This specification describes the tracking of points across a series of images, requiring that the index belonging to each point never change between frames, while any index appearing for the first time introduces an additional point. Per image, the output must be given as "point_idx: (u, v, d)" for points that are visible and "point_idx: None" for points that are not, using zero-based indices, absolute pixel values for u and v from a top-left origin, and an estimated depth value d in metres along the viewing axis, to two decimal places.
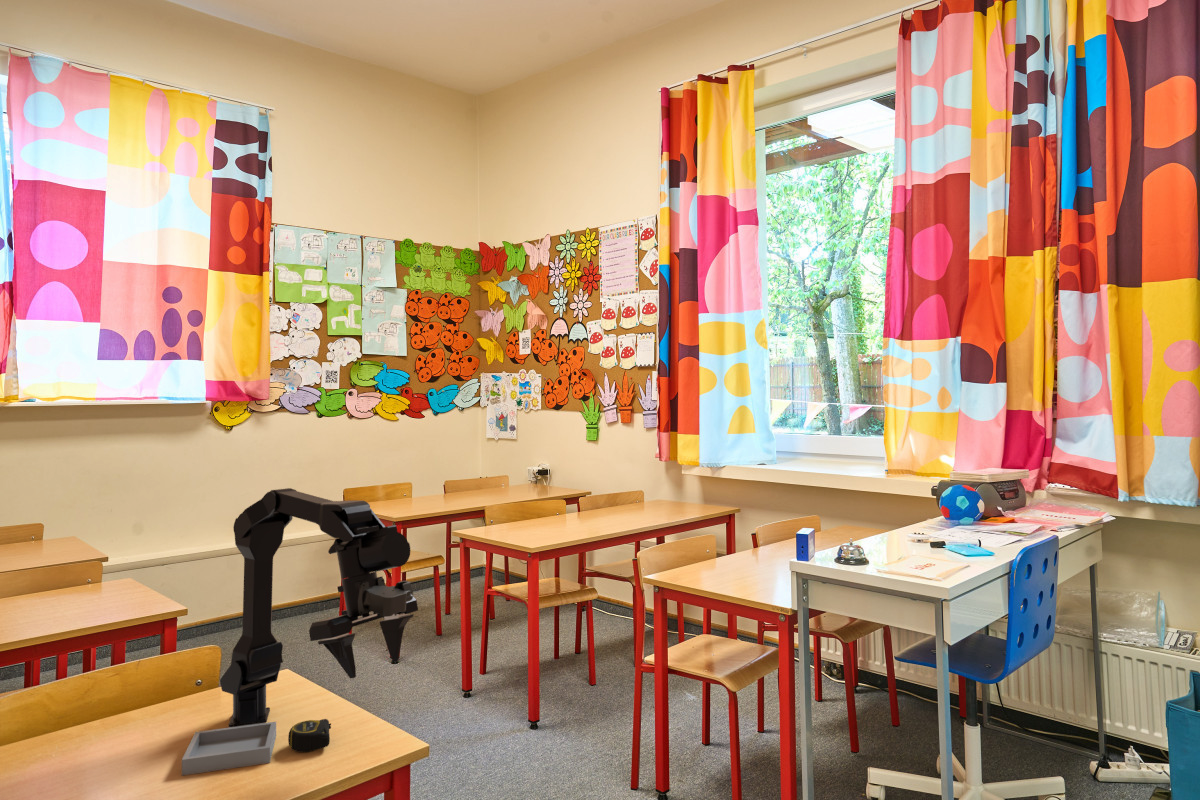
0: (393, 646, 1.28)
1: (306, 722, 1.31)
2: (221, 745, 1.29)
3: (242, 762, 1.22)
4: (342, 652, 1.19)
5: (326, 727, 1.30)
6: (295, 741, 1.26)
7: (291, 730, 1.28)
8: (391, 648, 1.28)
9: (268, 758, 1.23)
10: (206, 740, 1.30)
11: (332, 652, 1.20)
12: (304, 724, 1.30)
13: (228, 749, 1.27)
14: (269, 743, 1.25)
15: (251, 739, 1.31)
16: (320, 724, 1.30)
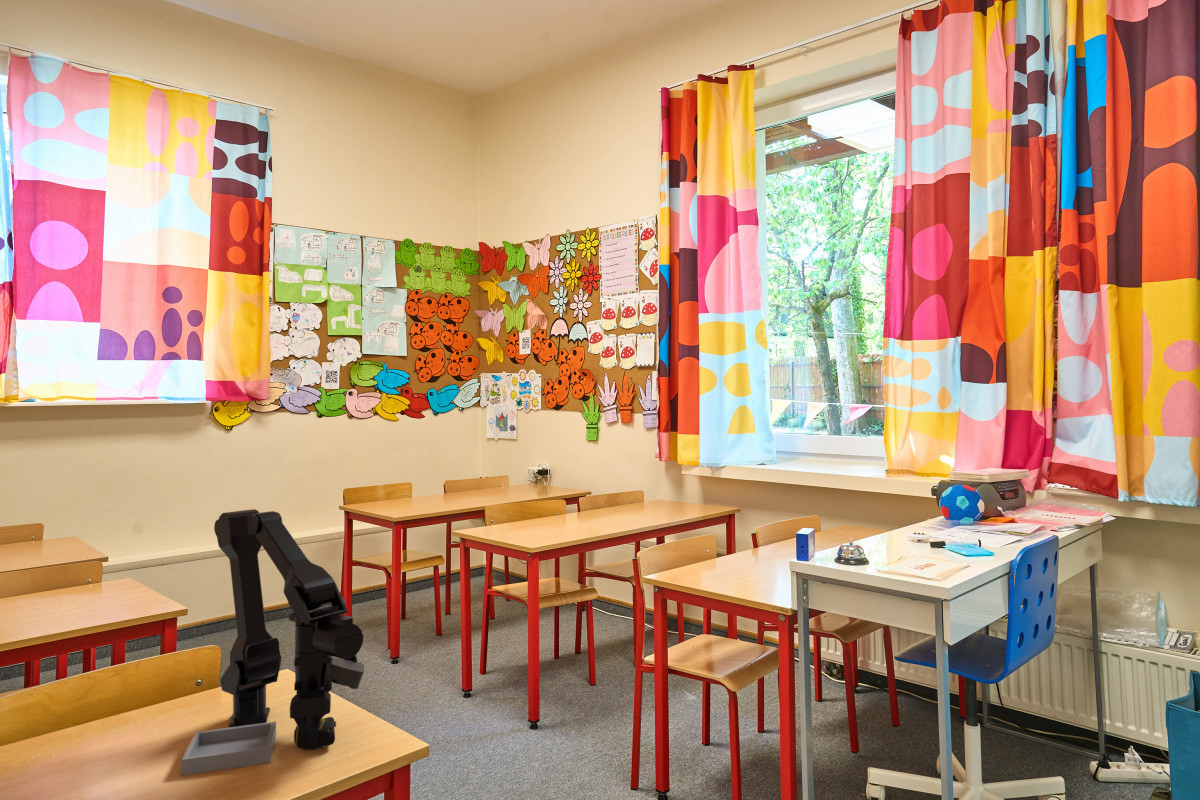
0: None
1: None
2: (221, 745, 1.29)
3: (242, 762, 1.22)
4: (311, 723, 1.25)
5: (331, 725, 1.30)
6: (300, 739, 1.27)
7: (297, 728, 1.28)
8: None
9: (268, 758, 1.23)
10: (206, 740, 1.30)
11: (299, 724, 1.24)
12: None
13: (228, 749, 1.27)
14: (269, 743, 1.25)
15: (251, 739, 1.31)
16: (325, 722, 1.31)
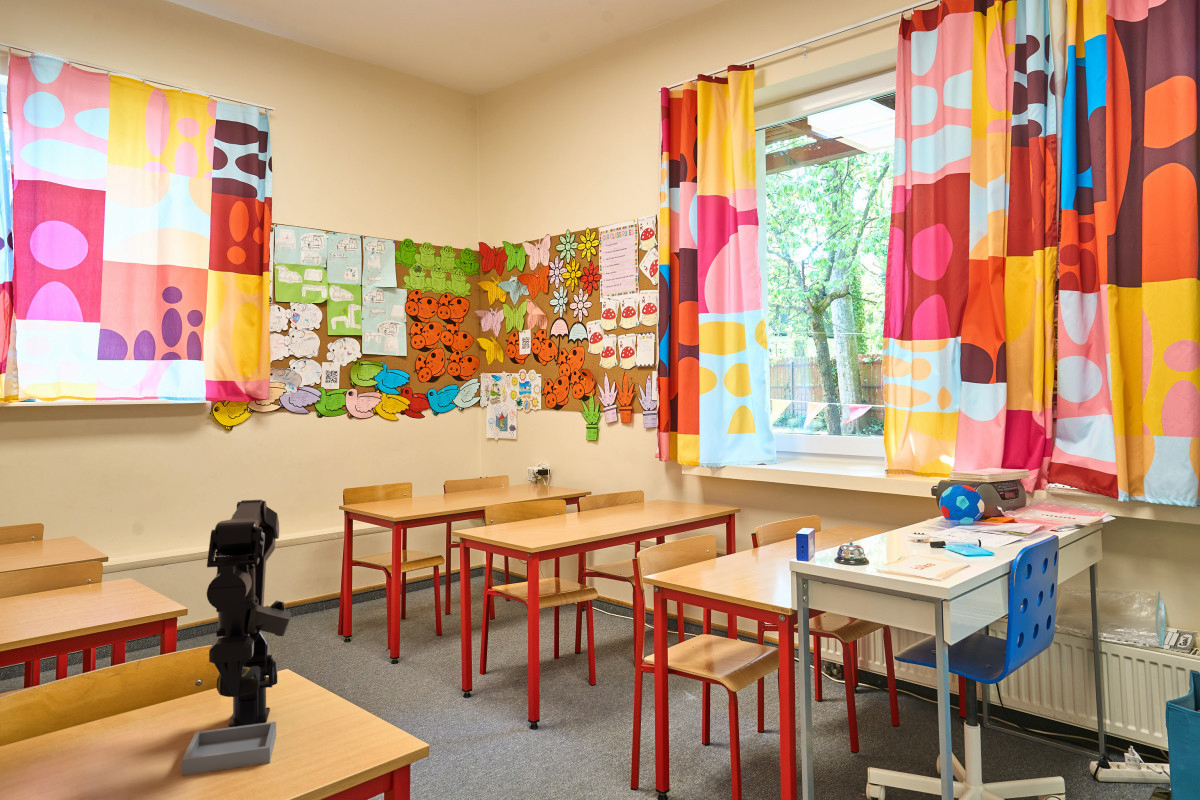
0: None
1: None
2: (221, 745, 1.29)
3: (242, 762, 1.22)
4: (233, 670, 1.23)
5: (256, 673, 1.28)
6: (223, 686, 1.24)
7: (219, 675, 1.26)
8: None
9: (268, 758, 1.23)
10: (206, 740, 1.30)
11: (221, 670, 1.22)
12: None
13: (228, 749, 1.27)
14: (269, 743, 1.25)
15: (251, 739, 1.31)
16: (250, 670, 1.28)
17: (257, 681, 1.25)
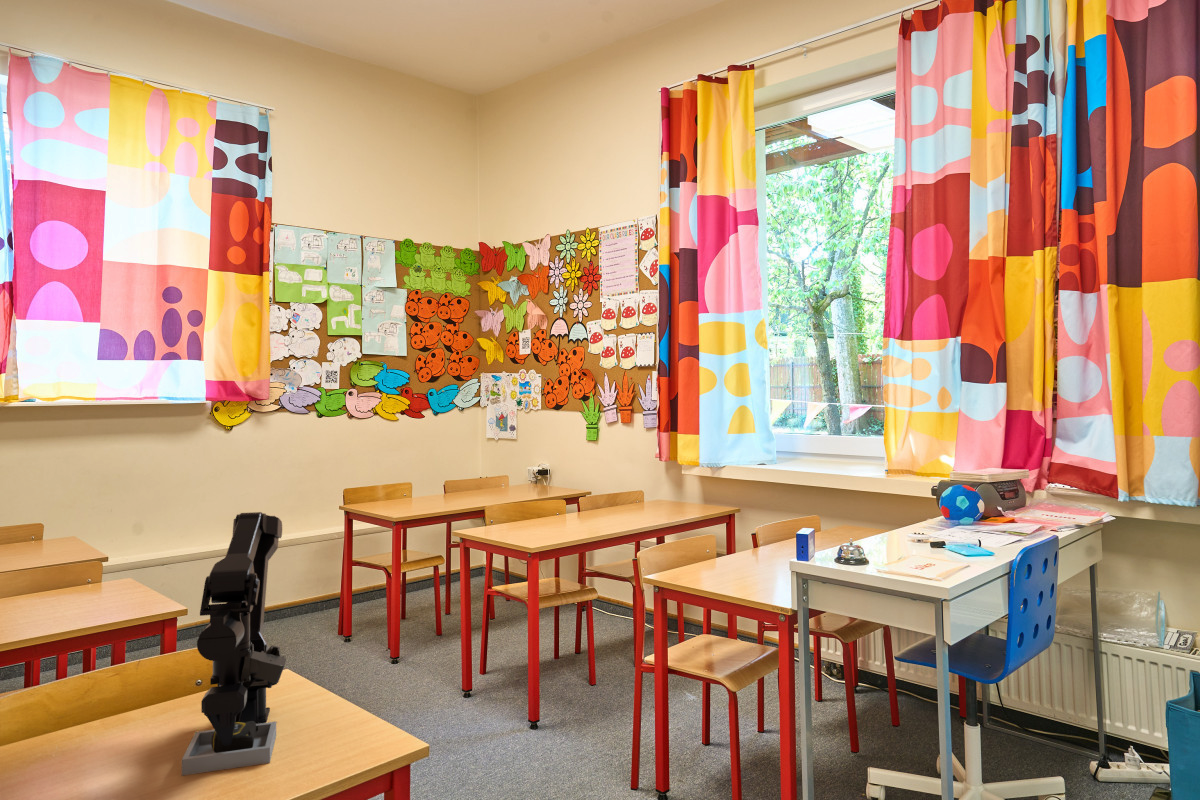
0: None
1: None
2: None
3: (242, 762, 1.22)
4: (226, 721, 1.21)
5: (251, 729, 1.27)
6: (217, 744, 1.24)
7: (214, 732, 1.25)
8: None
9: (268, 758, 1.23)
10: (206, 740, 1.30)
11: (213, 722, 1.20)
12: None
13: None
14: (269, 743, 1.25)
15: None
16: (245, 726, 1.28)
17: (251, 738, 1.25)
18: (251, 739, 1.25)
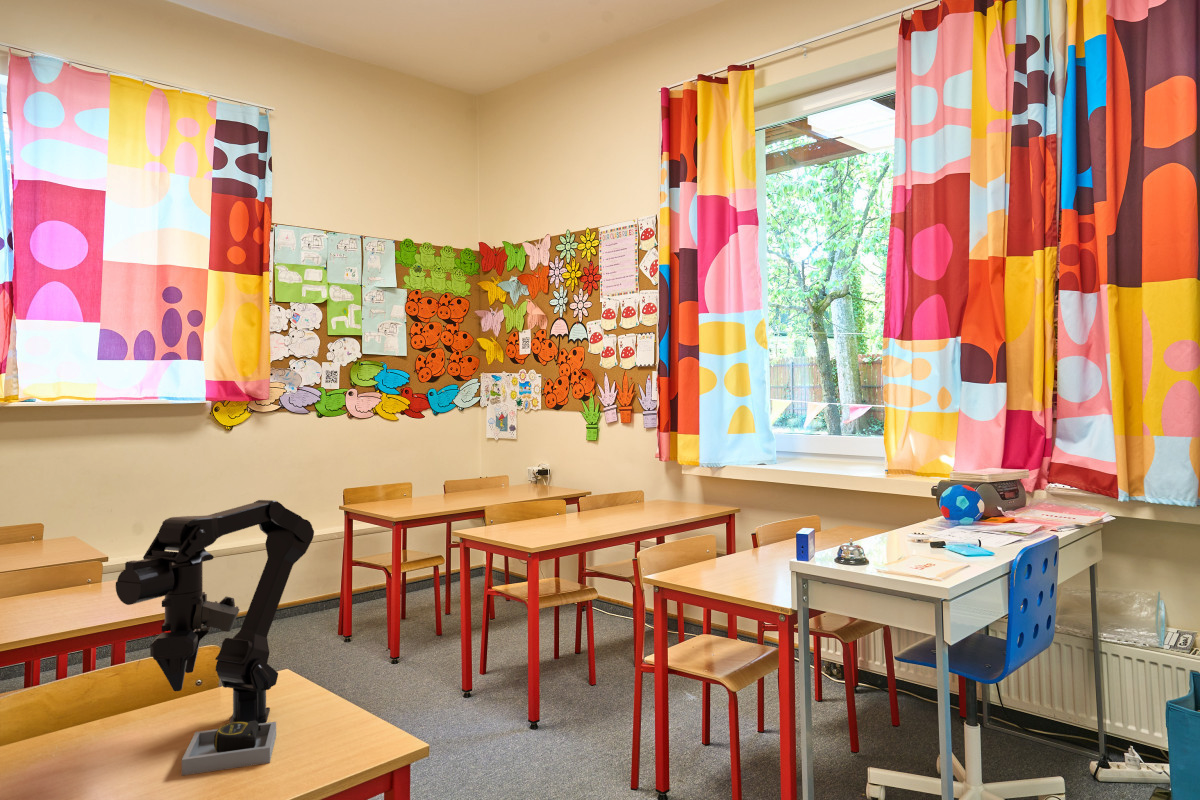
0: (190, 658, 1.32)
1: (234, 724, 1.29)
2: None
3: (242, 762, 1.22)
4: (176, 666, 1.23)
5: (253, 729, 1.27)
6: (219, 743, 1.24)
7: (217, 732, 1.26)
8: (186, 660, 1.32)
9: (268, 758, 1.23)
10: (206, 740, 1.30)
11: (163, 667, 1.22)
12: (231, 726, 1.28)
13: None
14: (269, 743, 1.25)
15: None
16: (248, 726, 1.28)
17: (253, 738, 1.25)
18: (253, 739, 1.25)
